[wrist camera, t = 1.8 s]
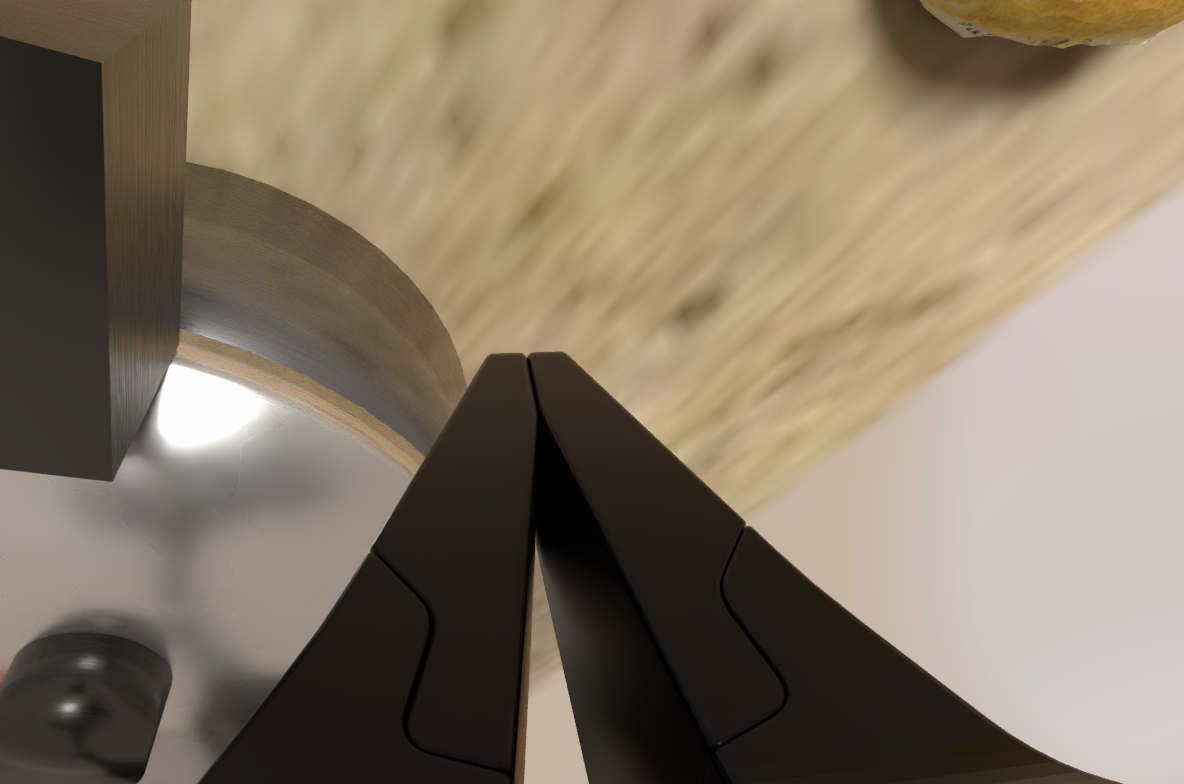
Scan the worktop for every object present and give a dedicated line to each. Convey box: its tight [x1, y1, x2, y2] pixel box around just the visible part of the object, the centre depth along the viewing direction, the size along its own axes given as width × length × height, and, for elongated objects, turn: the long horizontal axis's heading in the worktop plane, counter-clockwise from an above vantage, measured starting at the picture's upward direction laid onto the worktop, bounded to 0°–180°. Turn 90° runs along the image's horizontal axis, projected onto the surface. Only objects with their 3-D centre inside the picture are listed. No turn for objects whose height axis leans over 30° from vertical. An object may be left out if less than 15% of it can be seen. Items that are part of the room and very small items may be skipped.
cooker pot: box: [180, 162, 467, 457], centre depth 17 cm, size 20×15×7 cm
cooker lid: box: [0, 0, 425, 784], centre depth 13 cm, size 21×16×4 cm
